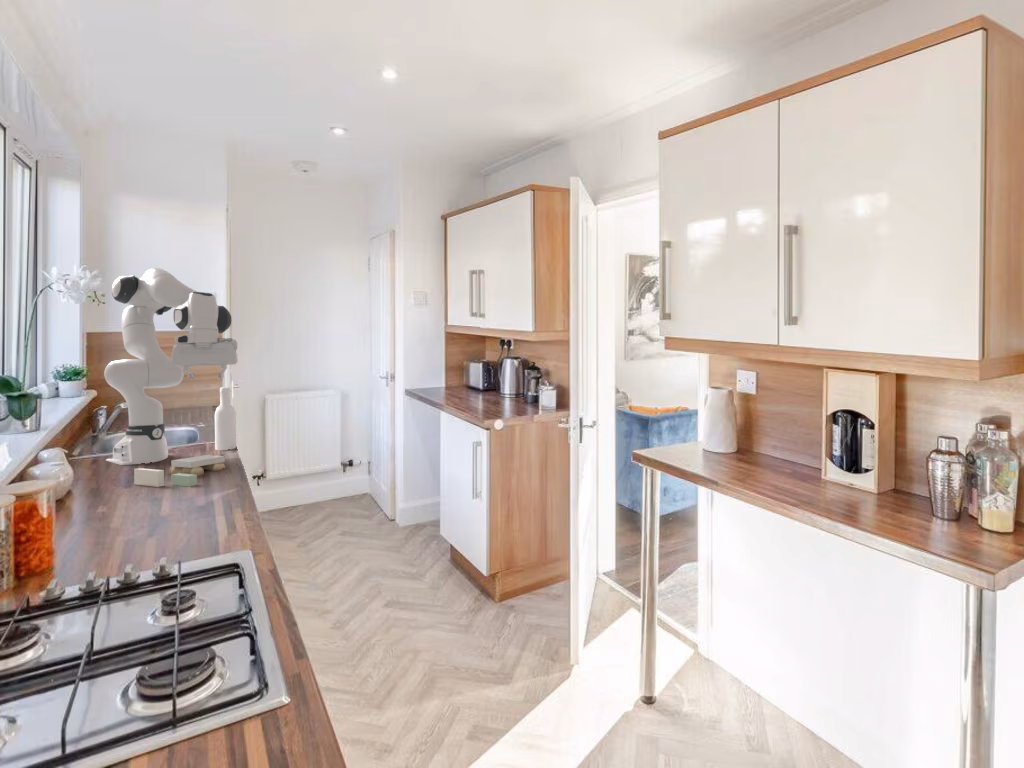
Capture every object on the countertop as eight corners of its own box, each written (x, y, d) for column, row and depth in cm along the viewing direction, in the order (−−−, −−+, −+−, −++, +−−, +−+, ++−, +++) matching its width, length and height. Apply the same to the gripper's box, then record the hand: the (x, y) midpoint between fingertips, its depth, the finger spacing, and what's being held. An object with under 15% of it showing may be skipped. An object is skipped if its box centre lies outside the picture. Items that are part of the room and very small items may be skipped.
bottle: (215, 462, 235) (214, 387, 234) (214, 459, 242) (213, 387, 241) (237, 461, 238) (236, 387, 237) (236, 458, 245) (235, 387, 244)
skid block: (170, 485, 189) (170, 474, 189) (179, 483, 192) (179, 473, 192) (188, 487, 186) (188, 476, 186) (196, 485, 189) (196, 474, 189)
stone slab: (171, 466, 201) (171, 460, 201) (206, 460, 214) (206, 454, 214) (190, 467, 198) (190, 461, 198) (224, 461, 211) (224, 456, 211)
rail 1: (168, 477, 202) (168, 466, 202) (178, 475, 205) (178, 464, 205) (193, 480, 197) (193, 468, 197) (204, 478, 201) (203, 466, 201)
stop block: (134, 484, 190) (134, 469, 190) (140, 483, 192) (140, 468, 192) (158, 486, 186) (158, 471, 186) (164, 485, 188) (163, 470, 188)
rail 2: (191, 473, 210) (191, 462, 210) (201, 471, 214) (200, 460, 214) (216, 475, 206) (216, 464, 205) (225, 473, 209) (225, 462, 209)
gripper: (238, 338, 208) (240, 377, 208) (175, 339, 203) (176, 379, 203) (235, 337, 201) (236, 377, 201) (169, 338, 196) (170, 379, 197)
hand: (205, 378), depth 202 cm, fingers open, 8 cm apart
